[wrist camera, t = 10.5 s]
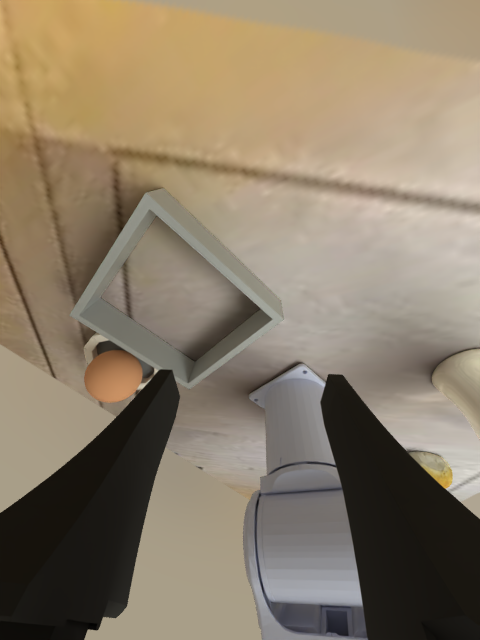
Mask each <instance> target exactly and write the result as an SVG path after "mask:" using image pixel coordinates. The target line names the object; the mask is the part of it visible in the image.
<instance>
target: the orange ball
mask: <svg viewBox="0 0 480 640" xmlns="http://www.w3.org/2000/svg"><path fill="white" fill-rule="evenodd" d="M142 374H143V373H142V367H141V364H140V362H139V360H138V359H137V358H136V357H135V356H134V355H132V354H131V353H129V352H126V351H122V350H111V351H107V352H104V353H102V354H100V355H98V356H97V357H96V358H94V359H93V360H92V361H91V363H90V364H89V365H88V367H87V369H86V372H85V377H84V381H85V386H86V389H87V391H88V392H89V393H90V395H91V396H93V397H94V398H95V399H97V400H99V401H102V402H110V403H111V402H118V401H121V400H124V399H126V398H128V397H129V396H131V395H132V394H133V393H134V392H135V391H136V390H137V388H138V387H139V385H140V383H141V380H142Z"/></svg>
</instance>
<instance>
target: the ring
mask: <svg viewBox="0 0 480 640" xmlns="http://www.w3.org/2000/svg"><path fill="white" fill-rule="evenodd" d="M111 350H122V351H126V350H125V349H123V348H121V347H120V346H118V345H116V344H115V343H113V342H112V341H110V340H108V339H107V338H105V337H104V336H102V335H100V334H99V333H97V332H96V333H95V334H94V335H93V336H92V337H91V338H90V340H89V341H88V342H87V344H86V345H85V346H84V354H85V359H86V362H88V363H87V364H88V365H89V364H90V363H91V361H92V360H93V359H94V358H96V357H97V356H98V355H100V354H102V353H104V352H107V351H111ZM126 352H128V351H126ZM132 355H133V354H132ZM135 357H136V356H135ZM136 358H137V357H136ZM137 359H138V360H139V362H140V364H141V367H142V373H143V374H142V380H141V383H140V385H139V387H138V388H137V389H143V388H144V387H145V385H146V384H147V383H148V382H149V381H150V380H151V378H152V377H153V376H154V375H155V374H156V373H157V372H158V370H157V369H155V368H154V367H152V366H150V365H149V364H147V363H145V362H144V361H142V360H141V359H139V358H137Z"/></svg>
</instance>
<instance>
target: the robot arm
mask: <svg viewBox="0 0 480 640" xmlns="http://www.w3.org/2000/svg"><path fill="white" fill-rule="evenodd" d="M304 370H306V371H304ZM179 399H180V395H179V392H178V388H177V384H176V381H175V377H174V374H173V370H168V369H160V370H158V372H157V373H156V374H155V375H154V376H153V377H152V378H151V380H150V381H149V382H148V383H147V384H146V385H145V387H144V388H143V389H142V390H141V391H140V392H139V393H138V395H137V396H136V397H135V398H134V399H133V400H132V401H131V402H130V403H129V404H128V406H127V407H126V408H125V409H124V410H123V411H122V412H121V413H120V414H119V415H118V416H117V417H116V418H115V419H114V420H113V421H112V422H111V423H110V424H109V425H108V426H107V427H106V428H105V429H104V430H103V431H102V432H101V433H100V434H99V435H98V436H97V437H96V438H95V439H94V440H93V441H91V442H90V443H89V444H88V445H87V446H86V447H85V448H84V449H83V450H81V451H80V452H79V453H78V454H77V455H76V456H74V457H73V458H72V459H71V460H70V461H69V462H67V463H66V464H65V465H64V466H62V467H61V468H60V469H59V470H58V471H56V472H55V473H54V474H52V475H51V476H50V477H49V478H47V479H46V480H45V481H43V482H42V483H41V484H39V485H38V486H37V487H36V488H34V489H33V490H32V491H30V492H29V493H27V494H26V495H25V496H24V497H22V498H21V499H19V500H18V501H17V502H15V503H14V504H13V505H11V506H10V507H8V508H7V509H6V510H4V511H3V512H1V513H0V640H84V638H85V635H86V633H87V630H88V629H90V630H98V629H99V627H100V624H101V621H102V618H103V617H109V618H116V617H118V616H119V615H120V614H121V613H122V612H123V611H124V609H125V608H126V607H127V604H128V598H129V592H130V587H131V582H132V577H133V572H134V566H135V562H136V557H137V552H138V547H139V543H140V538H141V533H142V529H143V525H144V520H145V516H146V512H147V507H148V503H149V500H150V496H151V491H152V488H153V484H154V480H155V476H156V473H157V470H158V467H159V464H160V461H161V458H162V455H163V452H164V449H165V447H166V444H167V441H168V438H169V435H170V432H171V429H172V426H173V423H174V420H175V417H176V413H177V408H178V404H179ZM249 399H250V400H251V401H253V402H254V403H256V404H257V405H259V406H260V407H262V408H263V409H265V426H266V464H267V476H262V477H260V486H261V490H257V491H255V492H254V493H253V494H252V496H251V499H250V501H249V503H248V505H247V508H246V512H245V517H244V528H243V549H244V560H245V568H246V573H247V577H248V581H249V583H250V586H251V588H252V592H253V595H254V600H255V604H256V610H257V615H258V623H259V627H260V629H261V635H262V640H480V519H479V518H478V517H477V516H475V515H474V514H473V513H472V512H471V511H470V510H468V509H467V508H466V507H465V506H464V505H463V504H462V503H461V502H460V501H458V500H457V499H456V498H455V497H454V496H453V495H452V494H450V493H449V492H448V491H447V490H446V489H445V488H444V487H443V486H441V485H440V484H439V483H438V482H437V481H436V480H435V479H434V478H433V477H432V476H431V475H430V474H429V473H428V472H427V471H426V470H425V469H424V468H423V467H422V466H421V465H420V464H419V463H418V462H417V461H416V460H415V459H414V458H413V457H412V456H411V455H410V454H409V453H408V452H407V451H406V450H405V449H404V448H403V447H402V446H401V445H400V444H399V443H398V442H397V441H396V439H395V438H394V437H393V436H392V435H391V434H390V433H389V432H388V431H387V429H386V428H385V427H384V426H383V425H382V424H381V423H380V421H379V420H378V419H377V418H376V417H375V415H374V414H373V413H372V412H371V411H370V409H369V408H368V407H367V406H366V404H365V403H364V402H363V401H362V399H361V398H360V397H359V396H358V394H357V393H356V392H355V390H354V389H353V388H352V386H351V385H350V384H349V383H348V381H347V380H346V379H345V377H344V376H343V375H334V374H328V377H327V381H326V382H325V381H323V380H322V379H321V378H320V377H319V376H318V375H316V374H315V373H314V372H313V371H312V370H311V369H309V368H308V367H307V366H306V365H305V364H299V365H297V366H295V367H294V368H292V369H290V370H289V371H287V372H285V373H284V374H282V375H280V376H279V377H277V378H275V379H274V380H272V381H270V382H269V383H267V384H265V385H264V386H262V387H260V388H259V389H257V390H255V391H254V392H252V393H250V394H249Z"/></svg>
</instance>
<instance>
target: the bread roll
mask: <svg viewBox="0 0 480 640" xmlns="http://www.w3.org/2000/svg"><path fill="white" fill-rule="evenodd" d="M409 454H410V455H411V456H412V457H413V458H414V459H415V460H416V461H417V462H418V463H419V464H420V465H421V466H422V467H423V468H424V469H425V470H426V471H427V472H428V473H429V474H430V475H431V476H432V477H433V478H434V479H435V480H436V481H437V482H438V483H439V484H440V485H441V486H443V487H444V488H448V487H449V486H450V485H451V483H452V470H451V468H450V465H449V464H448V463H447V462H446V461H445V460H444V459H443V458H442V457H440V456H438V455H435V454H431V453H427V452H420V451H415V452H409Z"/></svg>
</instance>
